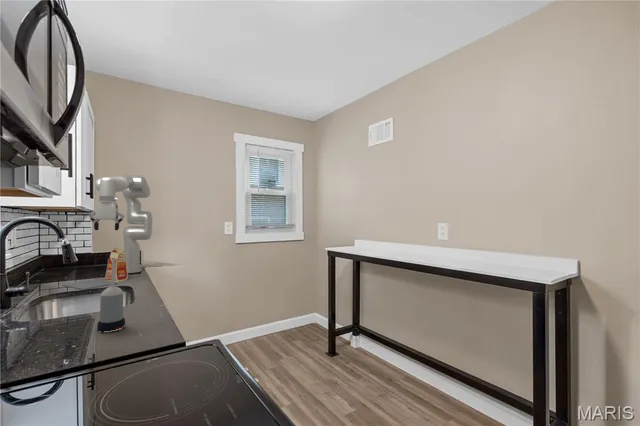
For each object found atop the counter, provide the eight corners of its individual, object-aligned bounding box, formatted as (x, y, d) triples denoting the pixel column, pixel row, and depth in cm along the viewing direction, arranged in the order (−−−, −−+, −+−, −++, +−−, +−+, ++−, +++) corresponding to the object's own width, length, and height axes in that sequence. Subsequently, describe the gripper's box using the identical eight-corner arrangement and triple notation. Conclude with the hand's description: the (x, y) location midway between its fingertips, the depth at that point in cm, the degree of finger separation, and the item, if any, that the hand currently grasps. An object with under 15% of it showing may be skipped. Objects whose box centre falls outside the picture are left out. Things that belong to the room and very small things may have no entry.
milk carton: (117, 282, 184) (117, 248, 184) (103, 281, 186) (104, 247, 186) (129, 279, 193) (130, 246, 193) (116, 278, 195) (117, 246, 195)
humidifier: (119, 332, 106) (121, 258, 107) (92, 333, 105) (94, 259, 105) (128, 324, 114) (130, 255, 115) (103, 325, 113) (105, 256, 113)
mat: (97, 280, 189) (97, 279, 189) (117, 283, 180) (117, 282, 180) (62, 285, 173) (62, 284, 173) (82, 289, 164) (82, 288, 164)
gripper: (126, 200, 182) (126, 229, 182) (92, 199, 177) (91, 229, 177) (122, 199, 175) (121, 230, 175) (86, 198, 170) (85, 230, 170)
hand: (106, 230), depth 176 cm, fingers open, 9 cm apart
